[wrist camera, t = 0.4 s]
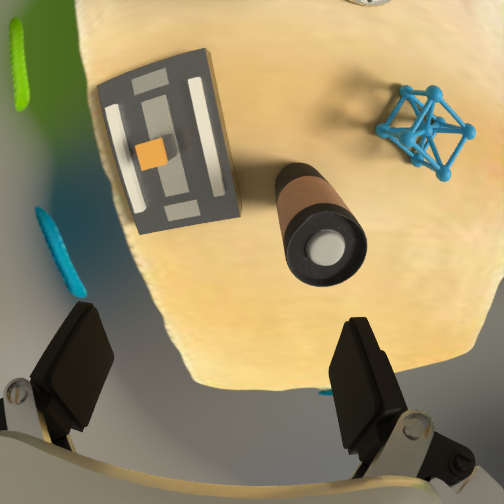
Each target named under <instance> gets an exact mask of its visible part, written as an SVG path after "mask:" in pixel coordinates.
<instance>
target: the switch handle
mask: <svg viewBox="0 0 504 504" xmlns="http://www.w3.org/2000/svg"><path fill="white" fill-rule="evenodd" d="M135 148H136V152H137V156H138V159H139V163H140V167H141V170H142V171H143V170H147V169H150V168H154V167H158V166H162V165H166V164H167V163H168V161H169V160H171V159H172V158H174V157H175V156H176V155H177V152H176V148H175V144H174V140H173V136H172V134H169V135H165V136H162V137H158V138H155V139H152V140H149V141H147V142H144V143H141V144H138V145H135Z"/></svg>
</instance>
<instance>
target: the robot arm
mask: <svg viewBox="0 0 504 504" xmlns="http://www.w3.org/2000/svg"><path fill="white" fill-rule="evenodd" d="M348 1H351V2H353V3H356V4H359V5H363V6H380V5H384V4H386V3H388V2H390V1H391V0H348ZM113 361H114V353H113V351H112V348H111V346H110V343H109V341H108V338H107V336H106V333H105V330H104V328H103V325H102V322H101V319H100V316H99V314H98V311H97V309H96V308H95V307H94V306H93V304H92V303H87V302H80V301H79V302H78V303H77V304H76V305H75V306H74V308H73V309H72V311H71V312H70V313H69V315H68V316H67V318H66V319H65V321H64V322H63V324H62V325H61V327H60V328H59V330H58V331H57V333H56V334H55V336H54V337H53V339H52V340H51V342H50V344H49V345H48V347H47V349H46V350H45V352H44V353H43V355H42V356H41V358H40V360H39V361H38V363H37V365H36V367H35V368H34V370H33V372H32V373H31V375H30V378H31V380H30V382H29V381H28V380H27V379H25V378H15V379H13V380H12V381H10V382H9V383H8V384H7V386H6V387H5V389H4V394H3V398H1V399H0V504H504V490H503V488H502V487H501V486H500V485H499V484H498V483H497V482H496V481H495V480H494V479H493V478H492V477H491V476H490V475H489V474H488V473H487V472H485V470H484V469H482V468H481V467H480V466H478V467H476V466H475V457H474V454H473V453H472V451H471V450H470V449H468V448H467V447H465V446H463V445H461V444H459V443H457V442H455V441H453V440H451V439H449V438H447V437H445V436H443V435H441V434H439V433H437V432H435V431H434V430H435V427H434V422H433V420H432V418H431V417H430V416H429V415H428V414H427V413H426V412H424V411H422V410H418V409H411V410H408V409H407V406H406V403H405V401H404V398H403V395H402V392H401V390H400V387H399V385H398V382H397V379H396V377H395V374H394V372H393V369H392V367H391V364H390V362H389V360H388V357H387V355H386V353H385V352H384V351H383V350H380V348H379V345H378V343H377V340H376V338H375V336H374V333H373V331H372V329H371V326H370V324H369V322H368V320H367V318H366V317H351V318H350V319H349V321H346V322H345V323H344V326H343V329H342V332H341V335H340V338H339V341H338V344H337V347H336V350H335V352H334V355H333V358H332V361H331V363H330V366H329V379H330V383H331V388H332V393H333V397H334V402H335V407H336V412H337V417H338V422H339V427H340V432H341V437H342V442H343V447H344V448H345V449H348V452H349V455H351V454H357V453H358V455H359V460H360V461H361V462H360V463H359V465H358V466H357V468H356V469H355V471H354V472H353V474H352V475H351V477H350V478H349V480H343V481H342V480H341V481H334V482H326V483H316V484H303V485H289V486H233V485H219V484H207V483H198V482H190V481H183V480H176V479H170V478H165V477H159V476H154V475H149V474H145V473H140V472H136V471H132V470H128V469H124V468H120V467H117V466H113V465H110V464H107V463H103V462H100V461H97V460H94V459H91V458H88V457H85V456H82V455H80V454H77V452H76V450H75V447H74V445H73V442H72V439H71V436H70V434H69V432H70V429H71V428H72V429H74V430H77V431H80V432H83V429H84V427H86V426H88V424H89V421H90V419H91V416H92V413H93V411H94V408H95V405H96V403H97V400H98V398H99V395H100V393H101V390H102V388H103V385H104V383H105V380H106V378H107V375H108V373H109V371H110V368H111V366H112V364H113Z"/></svg>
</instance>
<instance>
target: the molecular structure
mask: <svg viewBox="0 0 504 504" xmlns="http://www.w3.org/2000/svg"><path fill="white" fill-rule="evenodd" d="M400 95H401V96H402V97H401V98H400V100H399V101H398V103H397V105H396V106H395V108H394V109H393V111H392V113H391V114H390V116H389V117H388V119H387V121H386V122H385V123H380V124H378V125H377V126H376V134H377V135H378V136H379V137H380V138H387V137H388V138H389V139H390V140H392V141H393V142H394V143H395V144H396V145H398V146H399V147H400V148H401V149H402V150H404V151H405V152H406V153H407V154H408V155H409V156H410V157H411V158H410V160H411V163H412V164H413V165H414V166H415V167H420V166H422V165H424V166H426V167H427V168H429V169H431V170H433V171H435V172H436V177H437V178H438V179H439V180H440V181H442V182H446V181H448V180H449V179H450V177H451V171H450V169H449V168H450V167H451V165H452V164H453V162H454V160H455V159H456V157H457V155H458V154H459V152H460V150H461V149H462V147H463V145H464V143H465V142H466V140H467V139H468V140H471V139H473V138H474V137H475V135H476V131H475V128H474V127H473V126H472V125H471V124H469V123H466V124H465V123H464V122H463V121H462V120H461V119H460V118H459V116H458V115H457V114H456V113H455V112H454V111H453V110H452V109H451V107H450V106H449V105H448V104H447V103H446V102H445V101H444V100H443V99H442V97H443V94H442V91H441V89H440V88H439V87H437V86H435V85H431V86H429V87H427V89H426V91H421V90H413V89H412V87H410V86H408V85H404V86H402V87H401V88H400ZM414 95H421V96H427V98H428V100H427V101H426V103H425V105H423V104H422V103H421V102H420V101H419V100H418V99H417V98H416V97H415V96H414ZM405 99H406V100H409V102H410V104H411V106H412V108H413V110H414V112H415V114H416V116H417V118H416V120H415V121H414V123H413V125H412V126H411V128H390V127H389V125H390V124H391V122H392V120H393V119H394V117H395V116H396V114H397V112H398V111H399V109H400V108H401V106H402V104H403V103H404V101H405ZM437 102H439V103H440V104H441V105H442V106H443V107H444V108H445V109H446V110H447V111H448V112H449V113H450V114H451V115H452V117H453V118H454V119H455V120H456V121H457V122H458V123H459V124H460V126H461V127H460V126H456V125H452V124H448V123H446V121H445V120H444V119H443V118H442V117H435V116H434V115H433V110H434V105H435V103H437ZM415 103H416V104H417V105H418V106H419V107H420V108H422V110H421V111H420V112H419V110H418V108H417V106H416V104H415ZM426 113H427V117H426V121H425V122H424V120H423V118H424V116H425V115H426ZM431 118H432V119H433V124H432V125H431V124H430V122H431ZM419 124H420V125H419ZM436 133H459V134H462V135H463V137H462V138H461V140H460V142H459V144H458V145H457V147H456V149H455V150H454V152H453V154H452V155H451V157H450V159H449V160H448V162H447V163H446V165H443V164H442V162H441V159H440V156H439V154H438V151H437V149H436V147H435V144H434V142H433V138H434V137H435V135H436ZM420 135H421V140H420V144H419V145H418V144H416V137H418V136H420ZM395 137H396V138H398V139H399V140H397V139H396V138H395ZM426 138H427V141H426V143H425V140H426ZM424 143H425V144H424ZM429 145H430V147H431V149H432V152H433V154H434V157H435V159H436V162H437V163H436V162H435V161H434V160H433V159H432V158H431V157H430V156H429V155H428V154H427V153H426V152H425V151H426V149H427V148H428V146H429ZM410 147H413V148H414V149H415V150H416V151H417V153H412V152H411V151H410V150H409V149H408V148H410ZM423 157H424V158H425V159H426V160H427V161H428V162H429V163H428V162H426V161H424V158H423Z"/></svg>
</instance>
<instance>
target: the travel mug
mask: <svg viewBox="0 0 504 504" xmlns="http://www.w3.org/2000/svg"><path fill="white" fill-rule="evenodd" d="M275 189H276V203H277V212H278V218H279V223H280V229H281V234H282V240H283V245H284V251H285V257H286V261H287V264H288V267H289V269H290V271H291V272H292V273H293V275H294V276H295V277H296V278H298V279H299V280H300V281H302V282H304V283H306V284H308V285H311V286H316V287H328V286H333V285H337V284H339V283H342V282H344V281H346V280H347V279H349V278H350V277H351V276H353V275H354V274H355V273H356V272H357V271H358V269H359V268H360V267H361V265H362V264H363V262H364V259H365V256H366V253H367V239H366V235H365V233H364V231H363V229H362V227H361V226H360V224H359V223H358V221H357V220H356V218H355V217H354V216H353V214H352V213H351V211H350V210H349V209H348V207H347V206H346V204H345V203H344V202H343V200H342V199H341V198H340V196H339V195H338V193H337V192H336V191H335V189H334V188H333V187H332V186H331V185H330V184H329V182H328V181H327V180H326V179H325V178H324V177H323V176H322V175H321V174H320V173H319V172H318V171H317V170H316V169H315V168H313V167H312V166H310V165H308V164H304V163H294V164H291V165H288V166H287V167H285V168H284V169H283V170H282V171H281V172H280V173H279V175H278V177H277V179H276V185H275Z"/></svg>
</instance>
